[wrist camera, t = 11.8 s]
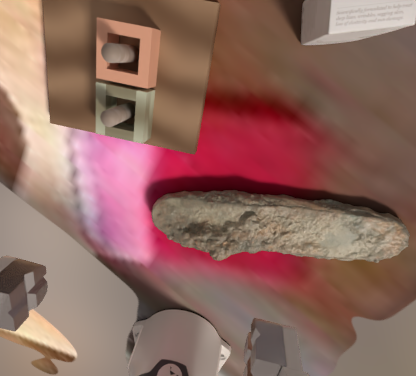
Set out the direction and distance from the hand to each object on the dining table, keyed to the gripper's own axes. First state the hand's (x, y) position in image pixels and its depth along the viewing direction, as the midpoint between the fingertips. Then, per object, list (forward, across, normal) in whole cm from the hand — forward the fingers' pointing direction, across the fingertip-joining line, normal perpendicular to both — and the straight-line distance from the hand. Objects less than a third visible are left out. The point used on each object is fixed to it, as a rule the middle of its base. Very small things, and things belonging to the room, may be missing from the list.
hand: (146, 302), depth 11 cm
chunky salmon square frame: (+28, +12, -7) cm, 31 cm away
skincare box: (+29, -9, -14) cm, 34 cm away
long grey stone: (+30, -10, +12) cm, 33 cm away
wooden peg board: (+29, +13, -5) cm, 32 cm away
